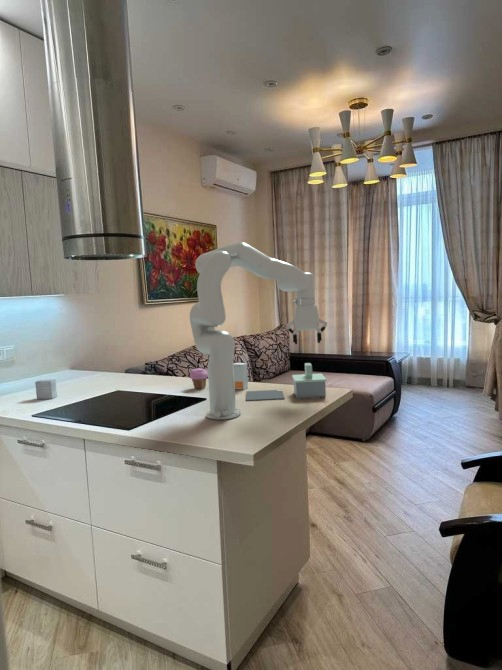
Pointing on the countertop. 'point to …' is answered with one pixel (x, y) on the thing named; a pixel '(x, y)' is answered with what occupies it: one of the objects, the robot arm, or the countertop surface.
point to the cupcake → (199, 378)
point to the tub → (309, 389)
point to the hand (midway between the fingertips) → (307, 343)
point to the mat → (264, 395)
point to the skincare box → (240, 375)
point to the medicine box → (46, 389)
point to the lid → (308, 376)
